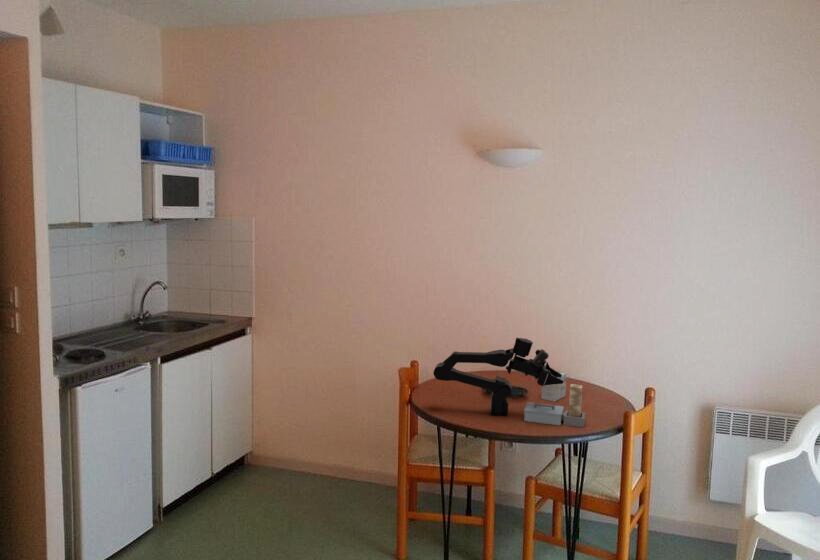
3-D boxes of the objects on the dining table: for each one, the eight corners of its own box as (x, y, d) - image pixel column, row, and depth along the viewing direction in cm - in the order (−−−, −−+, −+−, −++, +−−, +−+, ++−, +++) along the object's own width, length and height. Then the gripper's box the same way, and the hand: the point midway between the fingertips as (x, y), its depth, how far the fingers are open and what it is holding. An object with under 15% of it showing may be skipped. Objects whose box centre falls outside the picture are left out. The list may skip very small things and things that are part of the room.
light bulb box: (552, 393, 296) (553, 370, 294) (565, 396, 292) (567, 372, 290) (540, 398, 288) (541, 374, 286) (554, 402, 283) (556, 377, 282)
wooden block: (567, 424, 256) (570, 386, 254) (568, 420, 260) (571, 383, 258) (579, 425, 255) (581, 388, 253) (580, 421, 259) (582, 385, 257)
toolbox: (523, 421, 259) (524, 405, 258) (527, 412, 268) (528, 398, 268) (583, 428, 252) (584, 413, 251) (584, 419, 261) (585, 404, 261)
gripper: (532, 353, 252) (571, 366, 251) (530, 342, 271) (567, 354, 269) (522, 379, 254) (561, 393, 253) (521, 367, 273) (558, 379, 271)
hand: (562, 379), depth 261 cm, fingers open, 9 cm apart
